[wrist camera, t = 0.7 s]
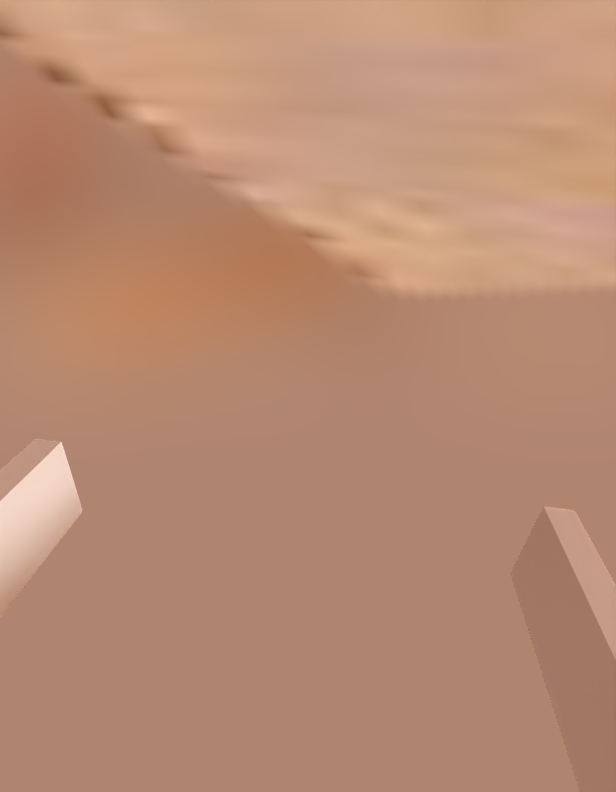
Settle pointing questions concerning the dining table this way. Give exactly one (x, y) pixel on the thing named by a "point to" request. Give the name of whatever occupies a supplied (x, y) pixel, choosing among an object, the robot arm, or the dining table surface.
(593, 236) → the dining table surface
